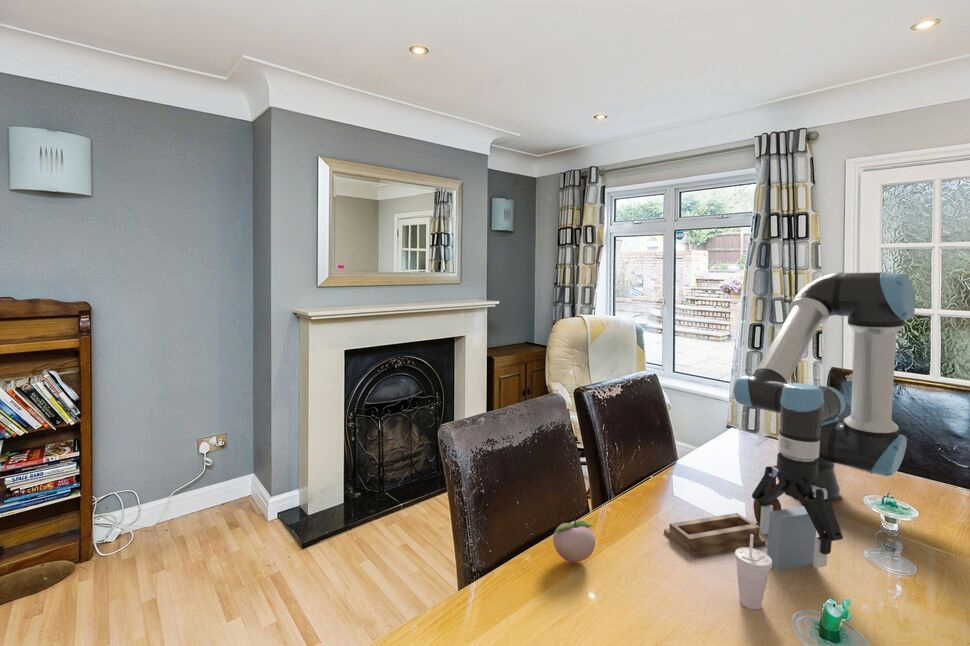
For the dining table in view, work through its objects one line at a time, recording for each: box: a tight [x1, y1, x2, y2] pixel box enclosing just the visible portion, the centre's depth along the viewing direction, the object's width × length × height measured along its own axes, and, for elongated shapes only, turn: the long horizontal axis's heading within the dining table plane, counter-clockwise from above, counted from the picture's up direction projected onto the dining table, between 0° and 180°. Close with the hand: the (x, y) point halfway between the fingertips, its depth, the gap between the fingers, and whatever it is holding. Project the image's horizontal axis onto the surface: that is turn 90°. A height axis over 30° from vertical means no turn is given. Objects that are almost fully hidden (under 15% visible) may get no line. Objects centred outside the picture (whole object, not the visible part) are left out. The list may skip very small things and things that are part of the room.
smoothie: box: [734, 534, 773, 610], centre depth 94 cm, size 6×6×14 cm
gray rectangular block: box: [766, 505, 817, 572], centre depth 107 cm, size 10×3×12 cm, turn 106°
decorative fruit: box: [552, 518, 596, 563], centre depth 107 cm, size 9×8×10 cm
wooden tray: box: [663, 512, 767, 558], centre depth 118 cm, size 20×11×3 cm, turn 106°
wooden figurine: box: [752, 478, 783, 525], centre depth 124 cm, size 7×6×15 cm
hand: (790, 548), depth 107 cm, fingers open, 13 cm apart
